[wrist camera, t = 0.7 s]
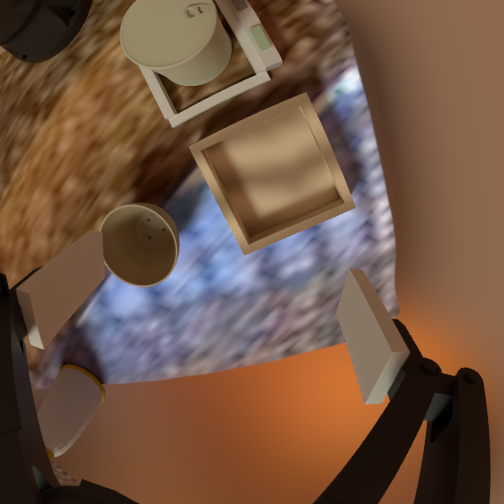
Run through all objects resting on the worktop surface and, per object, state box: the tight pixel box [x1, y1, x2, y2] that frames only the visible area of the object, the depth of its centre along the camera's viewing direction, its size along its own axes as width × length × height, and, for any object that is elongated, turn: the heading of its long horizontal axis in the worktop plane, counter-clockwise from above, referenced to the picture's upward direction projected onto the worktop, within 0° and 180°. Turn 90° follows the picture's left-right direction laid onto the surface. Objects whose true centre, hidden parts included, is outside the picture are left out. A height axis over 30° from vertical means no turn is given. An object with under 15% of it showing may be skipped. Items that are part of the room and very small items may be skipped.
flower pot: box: [99, 203, 179, 287], centre depth 37 cm, size 10×10×7 cm
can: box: [120, 0, 232, 86], centre depth 26 cm, size 9×9×12 cm
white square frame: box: [139, 0, 282, 128], centre depth 30 cm, size 15×15×3 cm
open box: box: [189, 92, 356, 255], centre depth 35 cm, size 14×14×4 cm
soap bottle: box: [37, 364, 105, 463], centre depth 41 cm, size 11×12×26 cm
